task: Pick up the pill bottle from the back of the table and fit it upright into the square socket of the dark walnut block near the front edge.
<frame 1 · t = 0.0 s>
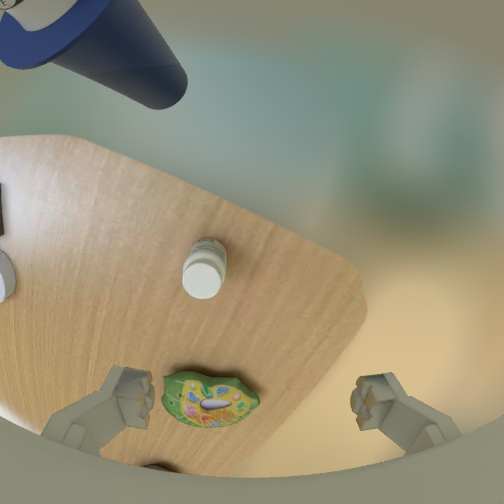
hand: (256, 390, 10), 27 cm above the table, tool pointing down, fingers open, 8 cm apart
potted plant: (164, 472, 54), on the table
pill bottle: (209, 254, 37), on the table
educational model: (208, 390, 44), on the table
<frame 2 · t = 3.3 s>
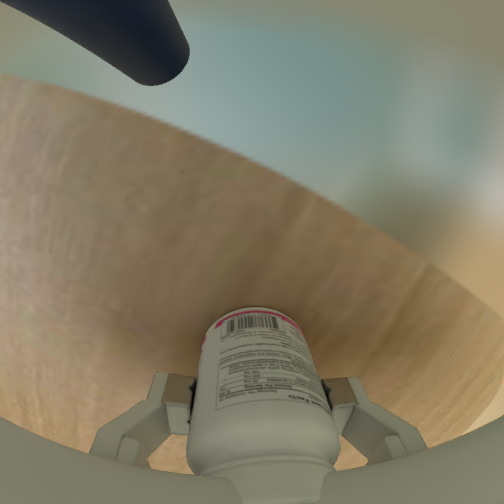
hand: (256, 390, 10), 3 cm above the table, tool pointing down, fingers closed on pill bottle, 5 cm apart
pill bottle: (254, 346, 13), on the table, touching gripper
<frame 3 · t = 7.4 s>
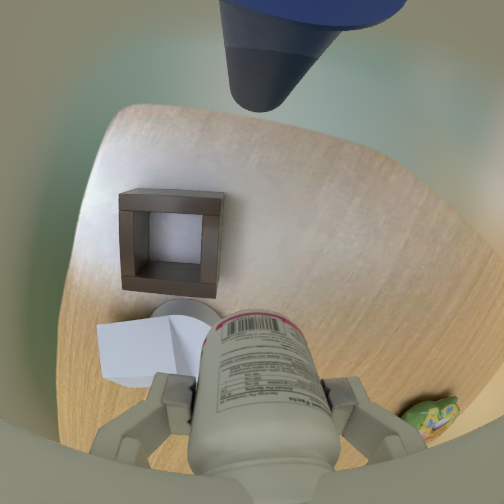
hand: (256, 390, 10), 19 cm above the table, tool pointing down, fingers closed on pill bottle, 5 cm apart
wedge on round base: (170, 335, 31), on the table
socket: (177, 234, 27), on the table
pill bottle: (254, 348, 13), point 16 cm above the table, touching gripper
educational model: (418, 414, 39), on the table
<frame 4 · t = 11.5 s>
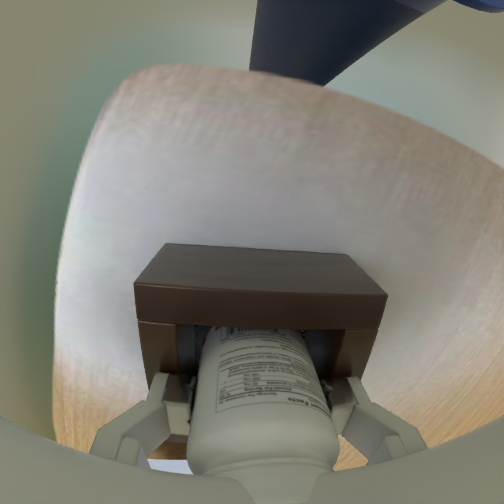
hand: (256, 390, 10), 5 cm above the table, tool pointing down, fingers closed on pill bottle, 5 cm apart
wedge on round base: (227, 450, 18), on the table
socket: (251, 329, 15), on the table
pill bottle: (253, 348, 13), point 2 cm above the table, touching gripper
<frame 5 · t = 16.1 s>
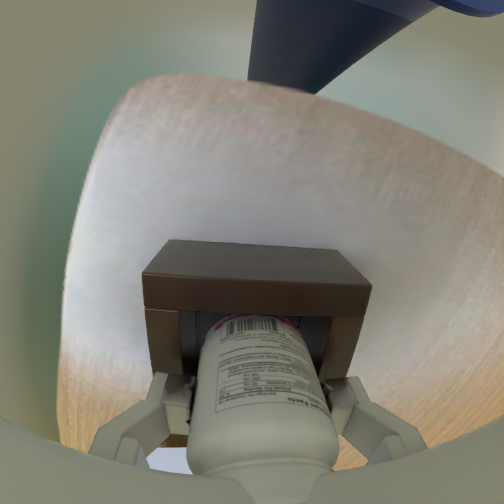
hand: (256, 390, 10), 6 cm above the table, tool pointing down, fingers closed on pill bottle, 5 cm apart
wedge on round base: (226, 440, 19), on the table
socket: (248, 320, 16), on the table
pill bottle: (253, 348, 13), point 3 cm above the table, touching gripper
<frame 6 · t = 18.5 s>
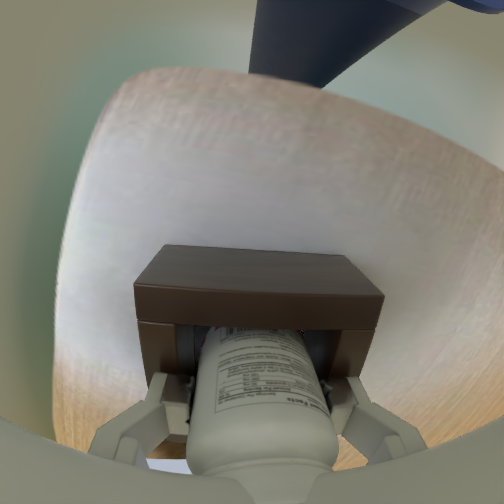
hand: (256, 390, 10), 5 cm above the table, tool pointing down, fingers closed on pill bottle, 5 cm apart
wedge on round base: (226, 450, 18), on the table
socket: (249, 329, 15), on the table
pill bottle: (253, 348, 13), point 2 cm above the table, touching gripper
when the fingers open (6 cm above the table, at t = 20.3 s): pill bottle drops 3 cm, resting in socket.
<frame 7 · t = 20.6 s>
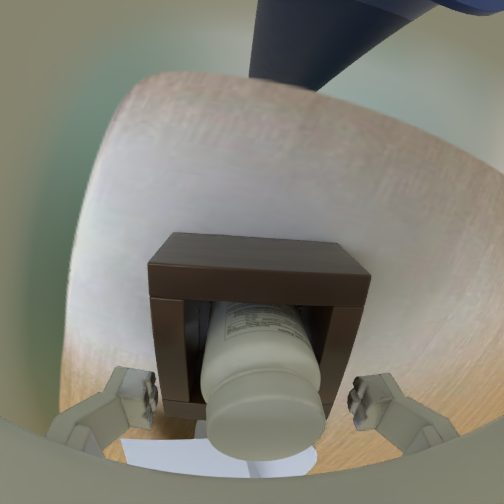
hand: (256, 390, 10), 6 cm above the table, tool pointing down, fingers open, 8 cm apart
wedge on round base: (228, 434, 20), on the table
socket: (250, 311, 16), on the table
pill bottle: (253, 310, 16), resting in socket
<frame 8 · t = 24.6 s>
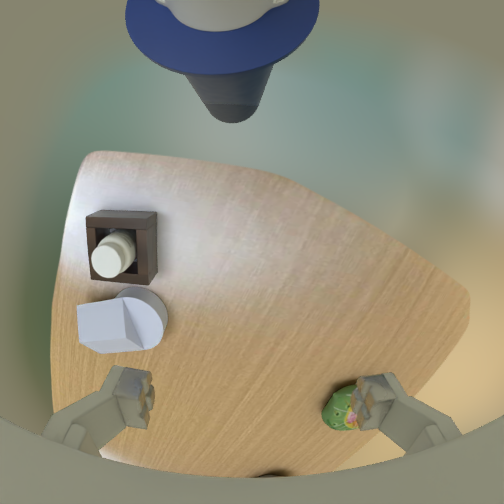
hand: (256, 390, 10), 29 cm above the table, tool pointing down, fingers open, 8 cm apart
wedge on round base: (129, 314, 42), on the table
socket: (128, 241, 38), on the table
potted plant: (272, 479, 60), on the table
pill bottle: (129, 240, 38), resting in socket
educational model: (354, 397, 50), on the table
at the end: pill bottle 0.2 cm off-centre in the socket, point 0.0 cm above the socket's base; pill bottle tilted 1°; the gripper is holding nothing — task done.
